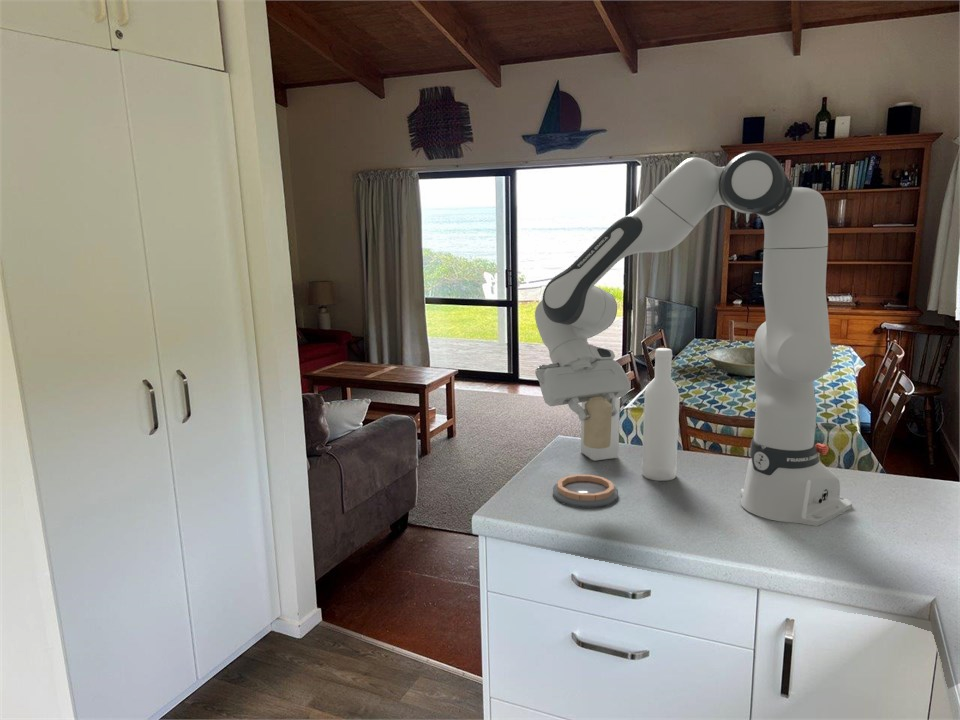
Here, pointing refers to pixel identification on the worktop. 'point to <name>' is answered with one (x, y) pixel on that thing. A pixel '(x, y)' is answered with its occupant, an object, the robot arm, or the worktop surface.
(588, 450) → the milk carton
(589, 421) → the candle
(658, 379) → the bottle
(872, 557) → the worktop surface
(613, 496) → the tray
